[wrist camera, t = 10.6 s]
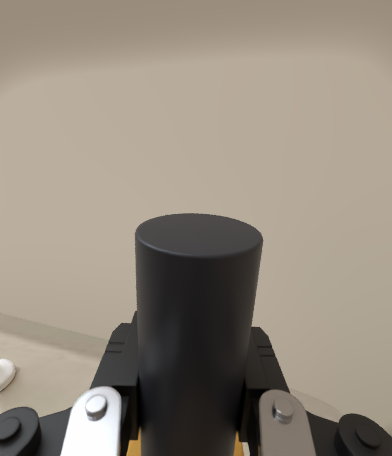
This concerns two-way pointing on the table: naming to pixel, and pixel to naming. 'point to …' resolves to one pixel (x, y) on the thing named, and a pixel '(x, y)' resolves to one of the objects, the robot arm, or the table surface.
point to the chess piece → (6, 372)
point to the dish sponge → (193, 332)
